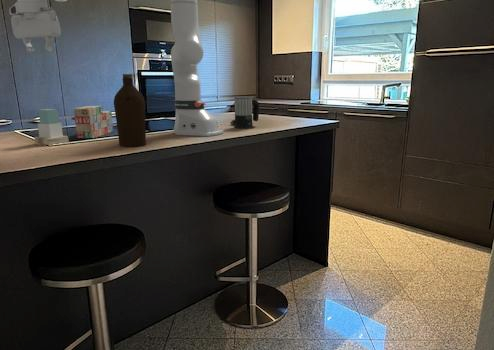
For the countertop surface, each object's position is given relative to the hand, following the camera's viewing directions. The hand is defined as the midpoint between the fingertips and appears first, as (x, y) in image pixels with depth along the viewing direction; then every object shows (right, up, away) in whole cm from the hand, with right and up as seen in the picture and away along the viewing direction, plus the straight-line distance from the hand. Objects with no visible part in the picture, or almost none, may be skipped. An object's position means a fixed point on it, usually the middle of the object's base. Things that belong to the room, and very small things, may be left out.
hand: (39, 51), depth 128 cm
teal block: (0, -24, +7) cm, 25 cm away
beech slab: (0, -32, +9) cm, 33 cm away
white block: (0, -29, +8) cm, 30 cm away
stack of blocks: (+8, -26, +29) cm, 40 cm away
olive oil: (+31, -32, +6) cm, 45 cm away
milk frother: (+70, -19, +56) cm, 91 cm away
